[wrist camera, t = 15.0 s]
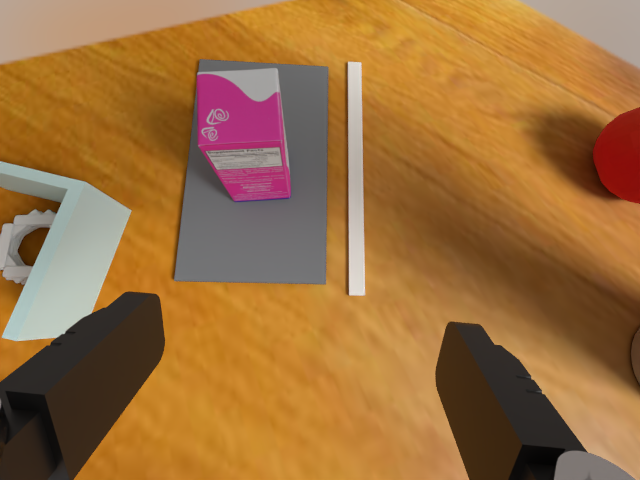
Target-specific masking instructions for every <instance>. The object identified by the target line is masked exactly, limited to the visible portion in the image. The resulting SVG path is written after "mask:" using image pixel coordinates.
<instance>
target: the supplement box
mask: <svg viewBox="0 0 640 480" xmlns="http://www.w3.org/2000/svg"><path fill="white" fill-rule="evenodd" d="M197 126H198V147H199V148H200V150H201V151H202V153H203V154H204V156H205V157H206V159H207V160H208V162H209V163H210V165H211V166H212V168H213V170H214V171H215V173H216V174H217V176H218V177H219V179H220V180H221V182H222V183H223V185H224V187H225V188H226V190H227V191H228V193H229V194H230V196H231V197H232V199H233V201H234V202H246V201H262V200H278V199H290V198H291V182H290V167H289V157H288V148H287V142H286V134H285V126H284V118H283V110H282V101H281V93H280V85H279V76H278V69H277V68H267V69H254V70H237V71H212V72H198V73H197Z"/></svg>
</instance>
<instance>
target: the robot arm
mask: <svg viewBox="0 0 640 480" xmlns="http://www.w3.org/2000/svg"><path fill="white" fill-rule="evenodd" d="M164 346H165V337H164V328H163V320H162V311H161V303H160V299H159V297H158V295H156V294H151V293H140V292H125V293H124V294H122V295H121V296H120V297H119V298H117V299H116V300H115V301H114V302H112V303H111V304H110V305H109V306H108V307H106V308H102V309H100V310H98V311H96V312H94V313H92V314H89V315H87V316H85V317H83V318H82V319H80V320H79V321H78V322H76V323H75V324H74V325H73V326H71V327H70V328H69V329H67V330H66V331H65V334H61V335H60V336H59V337H57V338H56V339H55V340H53V341H52V342H51V345H50V346H46V347H45V348H43V349H42V350H41V351H39V352H38V353H37V354H36V355H34V356H33V357H32V358H30V359H29V360H28V361H27V362H25V363H24V364H23V365H22V366H20V367H19V368H18V369H16V370H15V371H14V372H13V373H11V374H10V375H9V376H7V377H6V378H5V379H4V380H2V381H1V382H0V480H73V479H74V478H75V477H76V475H77V474H78V473H79V471H80V470H81V468H82V467H83V466H84V464H85V463H86V462H87V460H88V459H89V457H90V456H91V455H92V453H93V452H94V451H95V449H96V448H97V447H98V445H99V444H100V442H101V441H102V440H103V438H104V437H105V436H106V434H107V433H108V432H109V430H110V429H111V427H112V426H113V425H114V423H115V422H116V421H117V419H118V418H119V417H120V415H121V414H122V412H123V411H124V410H125V408H126V407H127V406H128V404H129V403H130V401H131V400H132V399H133V397H134V396H135V395H136V393H137V392H138V391H139V389H140V388H141V386H142V385H143V384H144V382H145V381H146V380H147V378H148V377H149V376H150V374H151V373H152V371H153V370H154V369H155V367H156V366H157V365H158V363H159V361H160V360H161V357H162V355H163V351H164ZM631 359H632V366H633V370H634V373H635V376H636V378H637V380H638V382H639V384H640V328H639V329H638V331H637V332H636V334H635V336H634V339H633V342H632V349H631ZM436 387H437V391H438V394H439V397H440V399H441V402H442V405H443V408H444V410H445V413H446V416H447V419H448V421H449V424H450V427H451V430H452V433H453V435H454V438H455V441H456V444H457V446H458V449H459V452H460V455H461V457H462V460H463V463H464V466H465V469H466V471H467V474H468V477H469V480H635V479H634V478H633V477H632V476H630V475H629V474H628V473H627V472H625V471H624V470H622V469H621V468H619V467H618V466H616V465H614V464H613V463H611V462H609V461H607V460H605V459H603V458H601V457H599V456H596V455H594V454H591V453H588V452H587V451H586V450H585V448H584V447H583V446H582V444H581V443H580V441H579V440H578V439H577V437H576V436H575V435H574V433H573V432H572V431H571V429H570V428H569V427H568V425H567V424H566V423H565V421H564V420H563V419H562V417H561V416H560V415H559V413H558V412H557V411H556V409H555V408H554V406H553V405H552V404H551V402H550V401H549V400H548V398H547V397H546V396H545V395H544V394H542V390H541V389H540V388H539V386H538V385H537V384H536V382H535V381H534V380H532V379H531V376H530V374H529V373H528V371H527V370H526V369H525V367H524V366H523V365H522V363H521V362H520V361H519V360H518V359H517V358H516V357H515V356H513V355H512V354H511V353H510V352H508V351H507V350H506V349H505V348H503V347H502V346H501V345H494V343H493V342H492V340H491V339H490V337H489V336H488V335H487V333H486V332H485V330H484V329H483V327H482V326H481V325H479V324H471V323H460V322H449V323H448V324H447V326H446V329H445V333H444V337H443V341H442V345H441V349H440V353H439V358H438V362H437V366H436Z"/></svg>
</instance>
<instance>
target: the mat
mask: <svg viewBox="0 0 640 480" xmlns="http://www.w3.org/2000/svg"><path fill="white" fill-rule="evenodd" d="M267 68H277V69H278V76H279V85H280V93H281V101H282V110H283V118H284V126H285V134H286V142H287V148H288V157H289V167H290V182H291V198H290V199H278V200H262V201H246V202H234V201H233V199H232V197H231V196H230V194H229V193H228V191H227V190H226V188H225V187H224V185H223V183H222V182H221V180H220V179H219V177H218V176H217V174H216V173H215V171H214V170H213V168H212V166H211V165H210V163H209V162H208V160H207V159H206V157H205V156H204V154H203V153H202V151H201V150H200V148H199V147H198V126H197V88H196V97H195V105H194V114H193V123H192V131H191V140H190V149H189V157H188V166H187V174H186V183H185V192H184V200H183V209H182V217H181V226H180V235H179V243H178V252H177V261H176V269H175V278H174V281H193V282H241V283H288V284H326V228H327V137H328V67H324V66H307V65H290V64H272V63H255V62H238V61H221V60H204V59H200V62H199V71H198V72H212V71H237V70H254V69H267Z"/></svg>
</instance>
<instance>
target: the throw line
mask: <svg viewBox="0 0 640 480" xmlns="http://www.w3.org/2000/svg"><path fill="white" fill-rule="evenodd" d="M348 226H349V295H360V296H365V265H364V202H363V139H362V75H361V62H348Z"/></svg>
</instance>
